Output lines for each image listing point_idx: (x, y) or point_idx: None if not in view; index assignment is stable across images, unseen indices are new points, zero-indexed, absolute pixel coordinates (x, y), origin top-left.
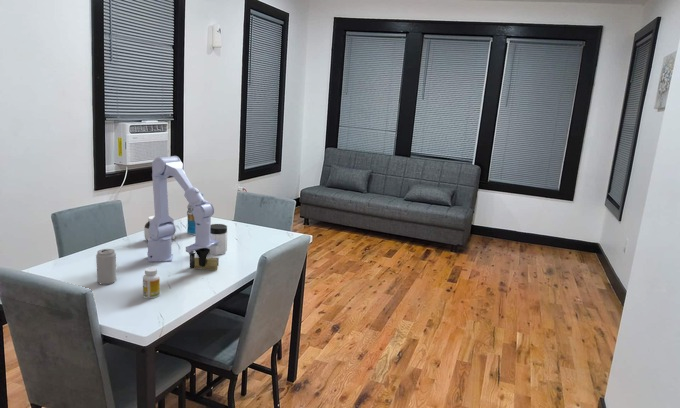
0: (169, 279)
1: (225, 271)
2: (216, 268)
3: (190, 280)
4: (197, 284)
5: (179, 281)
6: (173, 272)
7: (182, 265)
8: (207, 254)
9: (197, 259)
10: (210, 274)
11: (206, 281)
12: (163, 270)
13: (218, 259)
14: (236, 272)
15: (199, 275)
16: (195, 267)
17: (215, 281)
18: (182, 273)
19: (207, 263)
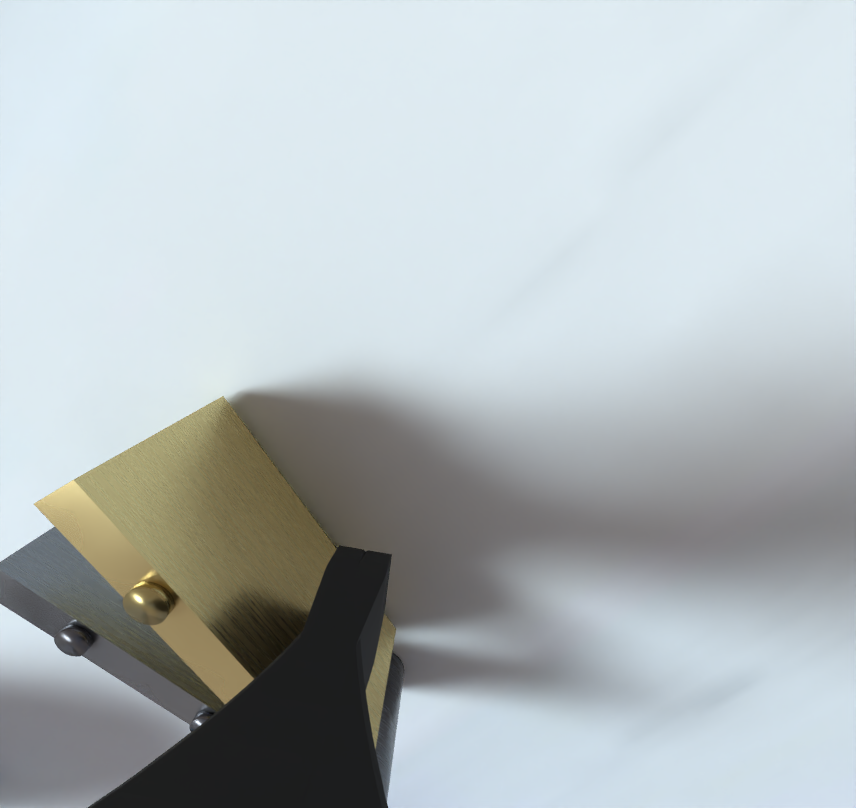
0: (836, 626)
1: (145, 275)
2: (212, 408)
3: (744, 419)
4: (853, 214)
5: (848, 503)
6: (617, 713)
7: (402, 757)
8: (193, 753)
9: None
10: (388, 363)
11: (657, 194)
12: (626, 798)
13: (12, 555)
14: (20, 86)
15: (515, 452)
16: (387, 634)
17: (572, 55)
18: (585, 636)
19: (265, 566)
